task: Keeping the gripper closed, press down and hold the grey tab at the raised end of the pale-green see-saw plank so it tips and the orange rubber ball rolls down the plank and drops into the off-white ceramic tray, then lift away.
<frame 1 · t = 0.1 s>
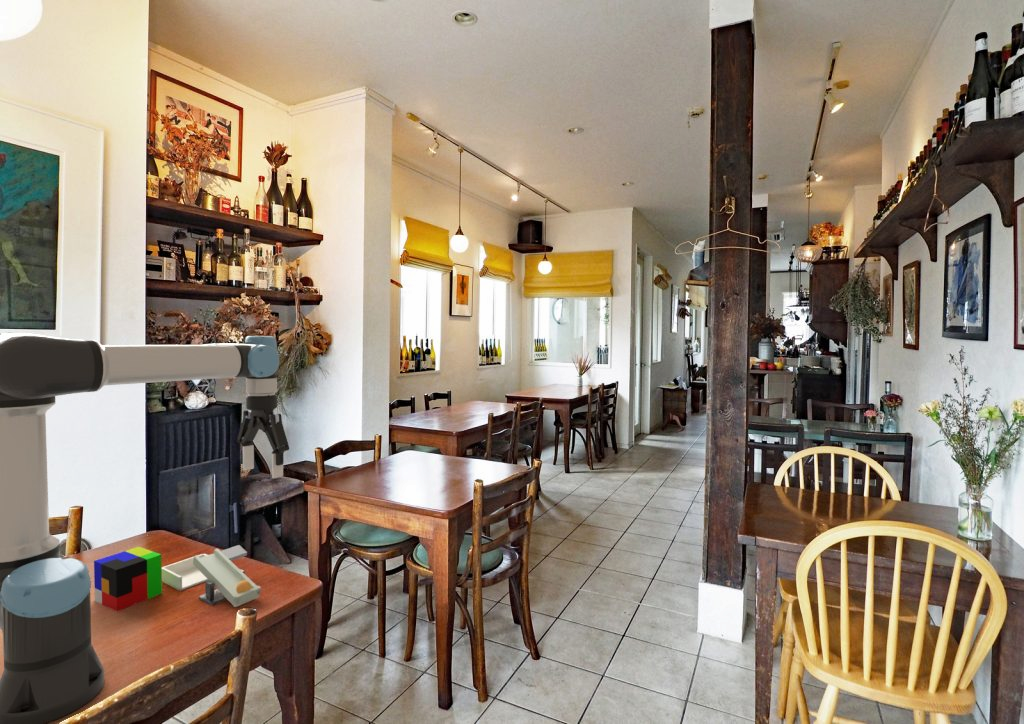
hand: (262, 473, 141), 28 cm above the table, fingers open, 13 cm apart
tray: (192, 577, 141), on the table
lever: (237, 570, 135), point 5 cm above the table, hinge at -17.0°, touching ball
puzzle toy: (129, 598, 130), on the table
fulcrum: (225, 593, 132), on the table
ball: (243, 587, 128), point 4 cm above the table, tilted 29°, touching lever
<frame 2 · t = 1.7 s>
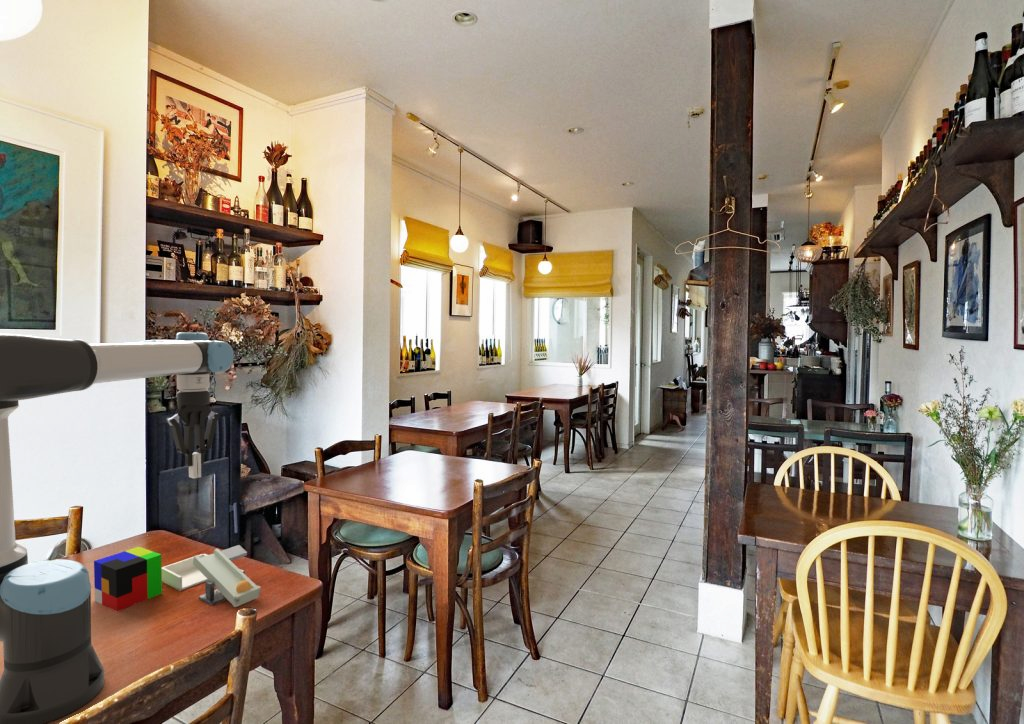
hand: (195, 477, 142), 26 cm above the table, fingers closed
nothing on the table moved.
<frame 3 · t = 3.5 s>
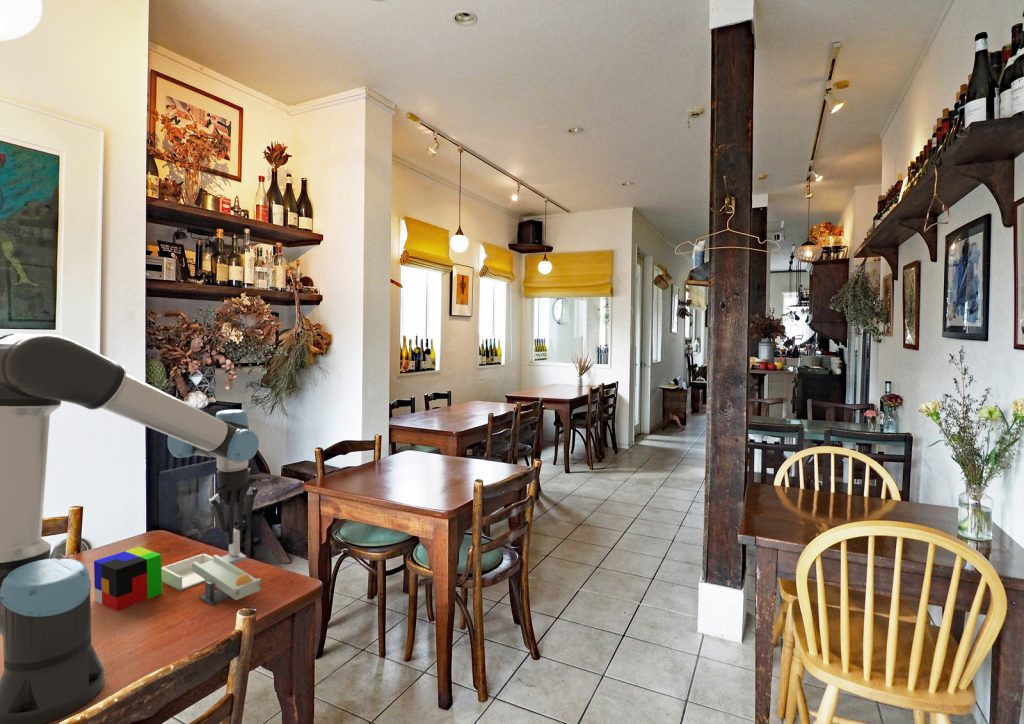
hand: (234, 553, 143), 6 cm above the table, fingers closed
lever: (237, 570, 135), point 5 cm above the table, hinge at -5.8°, touching ball, gripper
ball: (243, 581, 128), point 5 cm above the table, tilted 16°, touching lever
everything else where it was.
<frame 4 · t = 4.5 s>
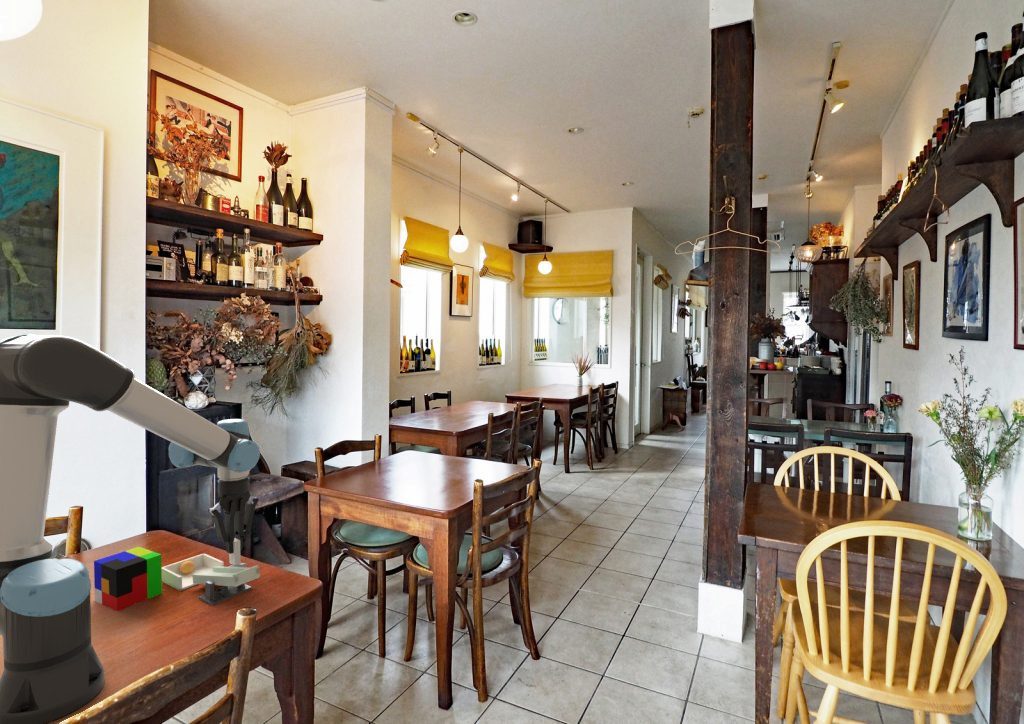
hand: (234, 563, 143), 3 cm above the table, fingers closed
lever: (236, 570, 135), point 5 cm above the table, hinge at 12.8°, touching gripper
ball: (187, 567, 142), point 2 cm above the table, tilted 96°, touching tray
everything else where it was.
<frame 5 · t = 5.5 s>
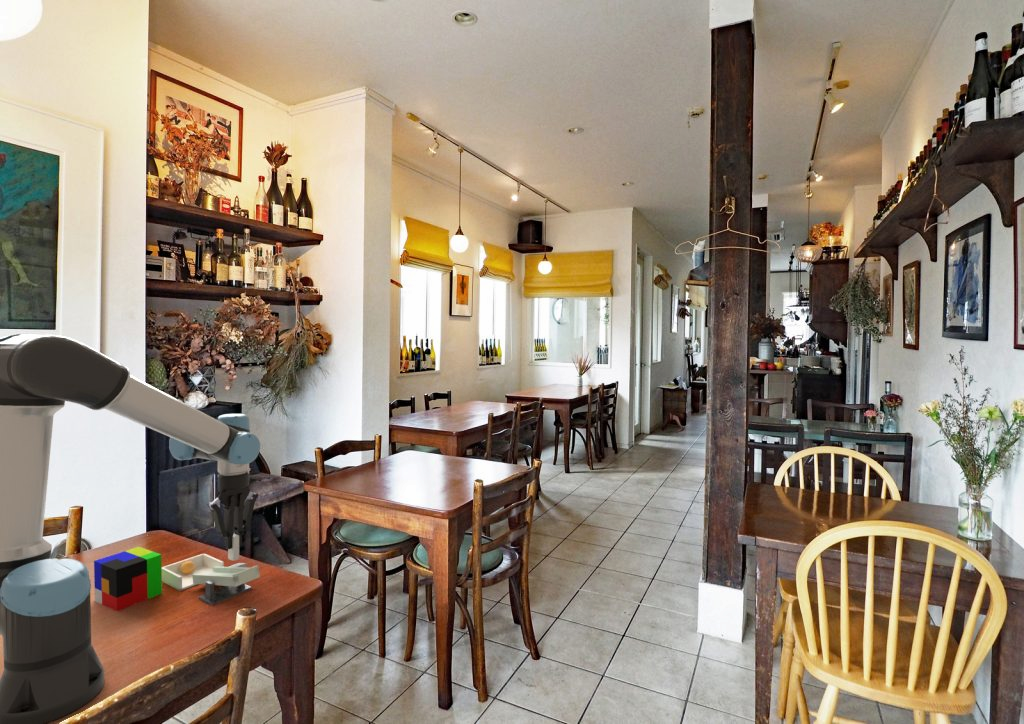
hand: (233, 559, 142), 5 cm above the table, fingers closed
lever: (236, 570, 135), point 5 cm above the table, hinge at 12.9°
ball: (187, 567, 142), point 2 cm above the table, tilted 102°, touching tray
everything else where it was.
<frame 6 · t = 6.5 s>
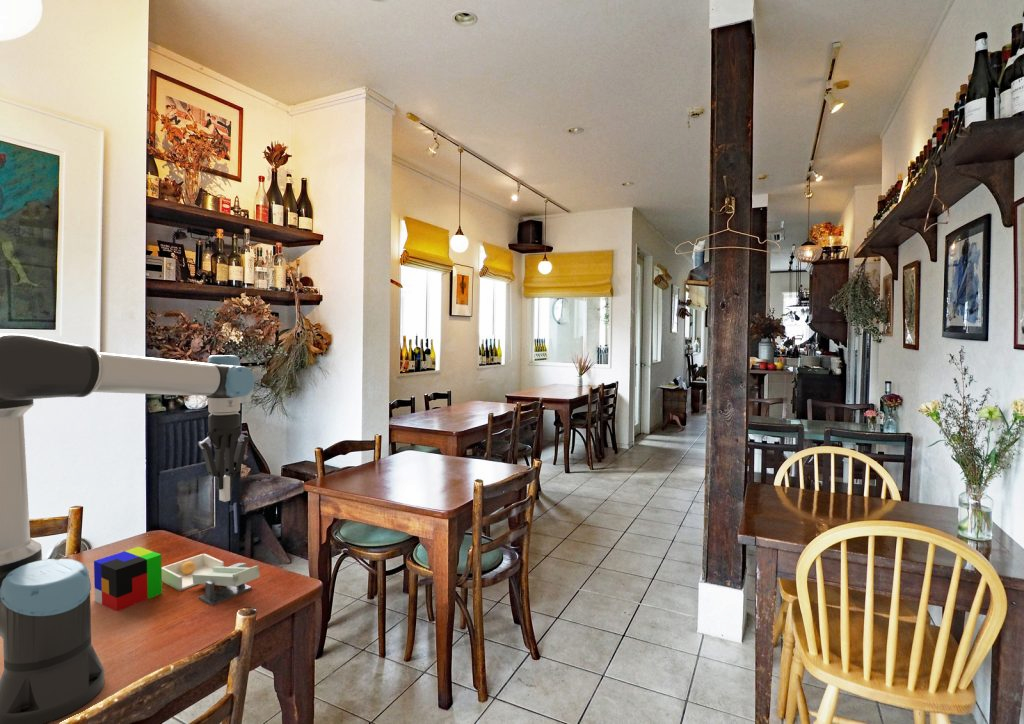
hand: (224, 500, 142), 20 cm above the table, fingers closed
ball: (188, 567, 142), point 2 cm above the table, tilted 112°, touching tray
everything else where it was.
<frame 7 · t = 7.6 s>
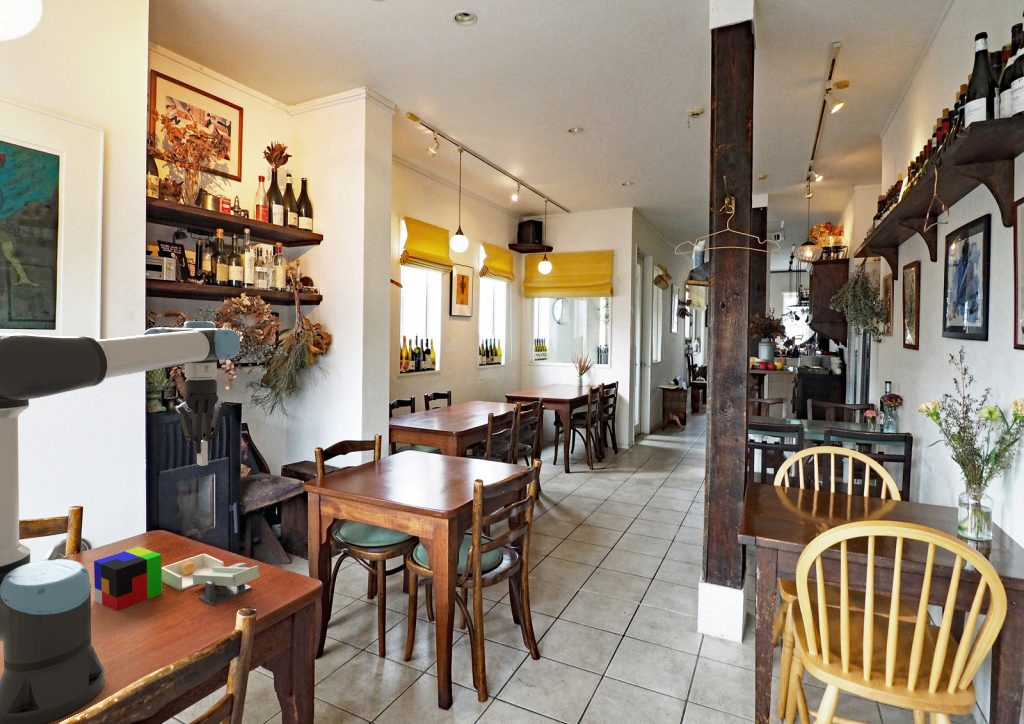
hand: (202, 464, 144), 29 cm above the table, fingers closed
ball: (188, 568, 142), point 2 cm above the table, tilted 123°, touching tray
everything else where it was.
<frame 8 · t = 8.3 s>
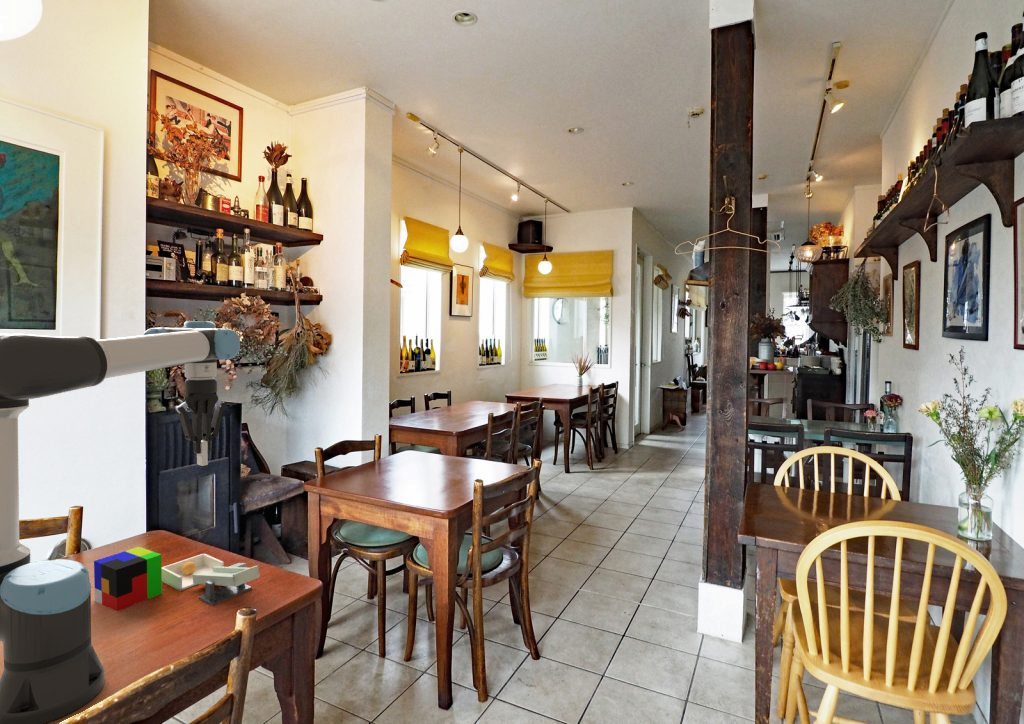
hand: (202, 464, 144), 29 cm above the table, fingers closed
ball: (189, 568, 142), point 2 cm above the table, tilted 130°, touching tray
everything else where it was.
at the end: ball inside the target area on the tray (1.7 cm from its centre), point 2.1 cm above the tray's base; ball point 2.1 cm above the table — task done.
